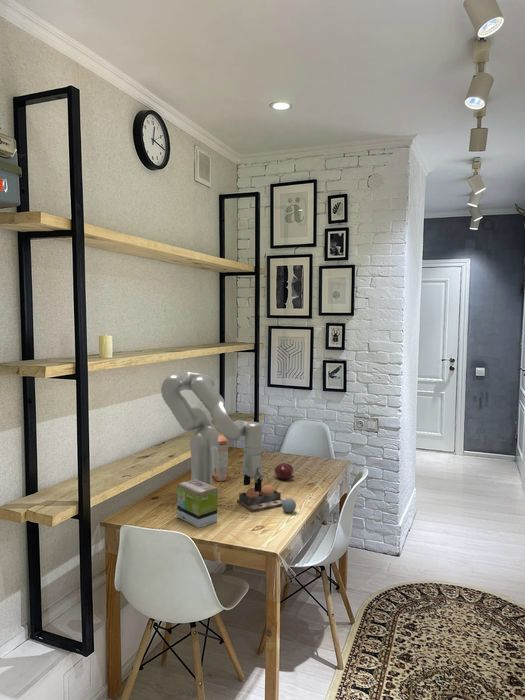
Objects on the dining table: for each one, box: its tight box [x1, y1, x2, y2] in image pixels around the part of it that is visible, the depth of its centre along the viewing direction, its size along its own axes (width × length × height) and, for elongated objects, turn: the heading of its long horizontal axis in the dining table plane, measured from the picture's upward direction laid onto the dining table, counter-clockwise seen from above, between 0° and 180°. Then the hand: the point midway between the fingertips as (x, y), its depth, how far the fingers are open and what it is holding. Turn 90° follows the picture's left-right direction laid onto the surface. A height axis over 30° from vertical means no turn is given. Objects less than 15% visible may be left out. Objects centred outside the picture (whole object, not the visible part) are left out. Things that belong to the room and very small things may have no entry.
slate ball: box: [281, 497, 297, 514], centre depth 227 cm, size 6×6×6 cm
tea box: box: [176, 479, 218, 529], centre depth 217 cm, size 15×10×15 cm
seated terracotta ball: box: [261, 484, 275, 496], centre depth 240 cm, size 6×6×6 cm
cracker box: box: [211, 434, 229, 482], centre depth 274 cm, size 14×6×21 cm, turn 22°
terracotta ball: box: [246, 487, 259, 499], centre depth 236 cm, size 6×6×6 cm
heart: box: [273, 462, 294, 481], centre depth 275 cm, size 12×8×10 cm
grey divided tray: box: [236, 489, 285, 514], centre depth 237 cm, size 18×14×4 cm
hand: (252, 488), depth 236 cm, fingers open, 9 cm apart
